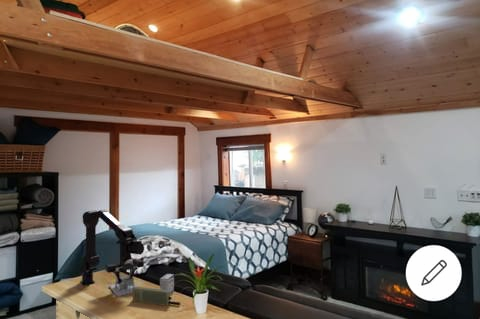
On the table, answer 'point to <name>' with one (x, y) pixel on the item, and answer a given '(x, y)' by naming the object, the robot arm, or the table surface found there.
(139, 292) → the handheld radio
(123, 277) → the block
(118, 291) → the pin cradle
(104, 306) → the table surface
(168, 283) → the medicine box
